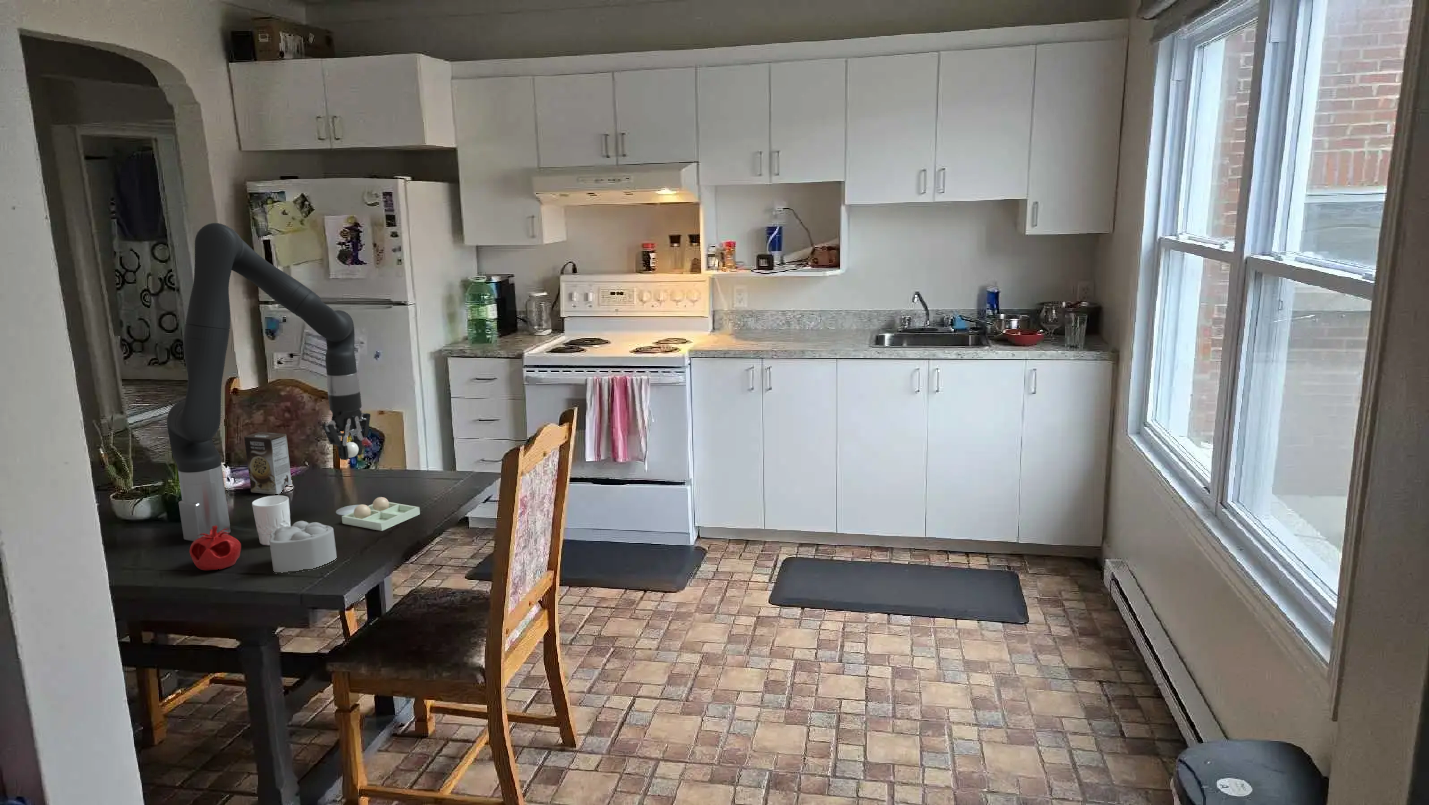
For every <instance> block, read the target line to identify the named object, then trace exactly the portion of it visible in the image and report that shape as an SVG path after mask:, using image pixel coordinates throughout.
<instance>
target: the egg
mask: <svg viewBox="0 0 1429 805" xmlns="http://www.w3.org/2000/svg"><path fill="white" fill-rule="evenodd" d="M346 445H347V449H348V459H349V458H354V457H356V456H358V455H357V454H358V451H359V448H358V446H357V444H356V443H354V442H352V441H347V444H346Z"/></svg>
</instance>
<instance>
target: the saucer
mask: <svg viewBox="0 0 1429 805" xmlns="http://www.w3.org/2000/svg"><path fill="white" fill-rule="evenodd" d="M358 505H359V504H353V505H352V504H351V505H347V506H344V507H343V506H342V507H340V508H338V509H336V510H335V513H336V514H337V515H339V516H344V515H347V514H349V513H352V512H354V509H355V508H356V507H357V506H358Z"/></svg>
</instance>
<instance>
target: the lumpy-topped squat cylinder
mask: <svg viewBox="0 0 1429 805" xmlns="http://www.w3.org/2000/svg"><path fill="white" fill-rule="evenodd" d="M270 538H271V539H270V545H269V548H270V549H269V550H270V558H271V562H272V570H273V571H274V572H281V573H283V572H288V571H299V570H303V569H313V568H316V567H319V566H322V565H324V564H327V563H329V562H331V561H333V560H335V559H336V558H337V548H336V540H335V532H334V527H332V526H331V525H326V524H323V523H320V522H316V521H315V522H313V521H312V522H307V521H306V520H305V521H304V520H299V521H296V522H294V523H293V524H292V525H291V526H285V527H280V528H278V529H277V530H276V531H273V532H272V533H271V534H270ZM336 560H337V559H336ZM336 560H335V561H336ZM313 570H314V569H313ZM273 571H272V572H273ZM274 572H273V573H274Z"/></svg>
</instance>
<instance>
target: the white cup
mask: <svg viewBox="0 0 1429 805" xmlns="http://www.w3.org/2000/svg"><path fill="white" fill-rule="evenodd" d="M251 507H252V510H253V511H252V512H253V515H254V516H253V517H254V522H255V526H256V532H257V534H258V539H259V540H258V541H259V543H260V544H261V545H262V546H270V539H271V538H270V534H271V533H272V532H273V531H276V530H277V529H278V528H280V527H285V526H292V525H291V511H290V498H289V496H286V495H280V494H278V495H268V496H263V497H261V498H257V499H255V500H253V501H252V502H251Z"/></svg>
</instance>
